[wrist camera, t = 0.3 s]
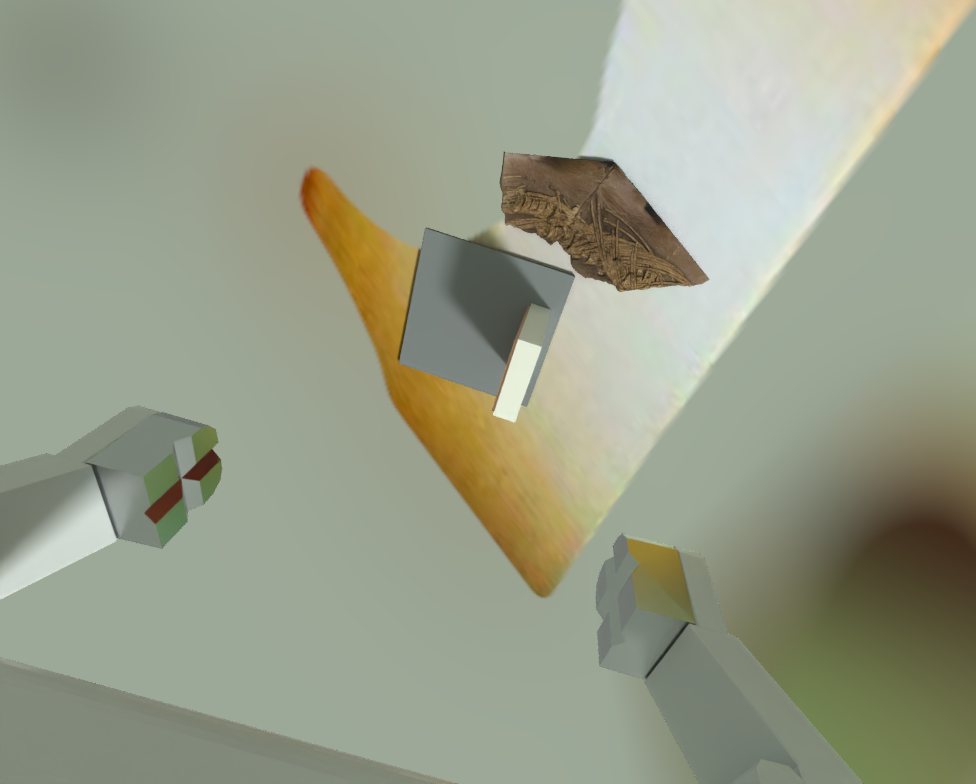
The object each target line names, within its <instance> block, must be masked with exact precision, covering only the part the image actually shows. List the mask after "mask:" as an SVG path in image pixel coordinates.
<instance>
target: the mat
mask: <svg viewBox="0 0 976 784" xmlns="http://www.w3.org/2000/svg"><path fill="white" fill-rule="evenodd" d="M574 278H575V276H574V275H571V274H568V273H565V272H562V271H559V270H555V269H552V268H549V267H546V266H543V265H540V264H537V263H534V262H531V261H528V260H525V259H522V258H519V257H516V256H512V255H509V254H506V253H503V252H500V251H497V250H494V249H491V248H488V247H485V246H482V245H479V244H476V243H473V242H470V241H466V240H463V239H460V238H457V237H454V236H451V235H448V234H445V233H442V232H439V231H435V230H433V229H429V228H426V229H425V232H424V238H423V242H422V248H421V253H420V258H419V263H418V268H417V273H416V278H415V283H414V289H413V294H412V299H411V304H410V309H409V314H408V319H407V324H406V330H405V335H404V340H403V345H402V350H401V355H400V360H399V364H402V365H405V366H408V367H411V368H414V369H417V370H420V371H423V372H426V373H429V374H432V375H435V376H437V377H440V378H443V379H446V380H449V381H452V382H455V383H458V384H461V385H464V386H467V387H470V388H473V389H476V390H479V391H482V392H485V393H488V394H491V395H494V396H497V393H498V389H499V386H500V383H501V380H502V377H503V374H504V371H505V368H506V365H507V362H508V359H509V356H510V353H511V350H512V347H513V344H514V340H515V338H516V335H517V333H518V330H519V328H520V325H521V323H522V320H523V317H524V315H525V312H526V310H527V307H528V306H531V304H535V305H538V306H541V307H544V308H547V309H550V310H551V311H550V316H549V320H548V324H547V328H546V332H545V337H544V341H543V345H542V348H541V351H540V354H539V357H538V359H537V362H536V365H535V368H534V371H533V373H532V376H531V379H530V382H529V384H528V387H527V390H526V393H525V395H524V398H523V401H522V404H521V405H523V406H526V407H527V405H528V402H529V399H530V397H531V394H532V391H533V389H534V386H535V383H536V380H537V378H538V375H539V372H540V370H541V367H542V364H543V362H544V359H545V356H546V353H547V351H548V348H549V345H550V343H551V340H552V337H553V334H554V332H555V329H556V326H557V324H558V321H559V318H560V316H561V313H562V310H563V307H564V305H565V302H566V299H567V297H568V294H569V291H570V289H571V286H572V283H573V280H574Z"/></svg>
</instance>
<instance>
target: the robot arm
mask: <svg viewBox="0 0 976 784" xmlns="http://www.w3.org/2000/svg"><path fill="white" fill-rule="evenodd" d="M217 443H218V438H217V433H216V429H215V428H213V427H211V426H208V425H205V424H202V423H198V422H195V421H191V420H188V419H184V418H181V417H177V416H174V415H170V414H167V413H164V412H158V411H155V410H151V409H148V408H145V407H141V406H134V407H128V408H126V409H125V410H123V411H122V412H120V413H119V414H118V415H116V416H114V417H113V418H111V419H110V420H108V421H107V422H105V423H104V424H102V425H100V426H99V427H97V428H96V429H95V430H93V431H91V432H90V433H88V434H87V435H85V436H84V437H82V438H81V439H79V440H78V441H76V442H75V443H73V444H72V445H70V446H69V447H67V448H66V449H64V450H62V451H61V452H60V453H58V454H56V455H51V454H47V453H46V454H43V455H39V456H35V457H31V458H28V459H24V460H20V461H16V462H13V463H9V464H5V465H1V466H0V599H2V598H4V597H6V596H8V595H10V594H12V593H14V592H16V591H18V590H20V589H22V588H24V587H26V586H28V585H30V584H32V583H34V582H36V581H38V580H40V579H42V578H44V577H46V576H48V575H50V574H52V573H54V572H56V571H58V570H60V569H62V568H64V567H66V566H68V565H70V564H72V563H74V562H76V561H78V560H80V559H82V558H84V557H86V556H87V555H89V554H92V553H93V552H95V551H97V550H99V549H101V548H103V547H105V546H107V545H109V544H111V543H113V542H115V541H116V540H117V538H119V539H124V540H128V541H132V542H136V543H140V544H144V545H148V546H153V547H157V548H161V549H162V548H163V547H164V546H165V545H166V544H167V543H168V542H169V541H170V540H171V539H172V538H173V536H175V534H176V533H177V532H178V531H179V530H180V529H181V528H182V527H183V526H184V525H185V524H186V523H187V520H188V511H189V510H192V509H194V508H197V507H199V506H202V505H204V504H205V502H206V501H207V500H208V499H209V498H210V496H212V495H213V493H214V491H215V489H216V487H217V485H218V483H219V482H220V479H221V472H222V465H221V459H220V458H219V457H218V455H217V454H216V453H215V452H214V450H213V448H214V447H215V446H216V444H217ZM613 552H614V557H612V558H610V559H608V560H606V561H605V562H604V564H603V566H602V569H601V571H600V574H599V578H598V582H597V586H596V610H597V611H598V613H599V614H600V616H601V617H602V619H603V622H602V624H601V626H600V627H599V629H598V631H597V634H598V651H599V666H600V667H603V668H607V669H610V670H613V671H617V672H620V673H624V674H627V675H630V676H634V677H637V678H641V679H644V680H646V681H645V685H646V686H647V688H648V690H649V692H650V694H651V696H652V697H653V699H654V701H655V703H656V705H657V707H658V708H659V710H660V712H661V714H662V716H663V718H664V720H665V722H666V723H667V725H668V727H669V729H670V731H671V733H672V734H673V736H674V738H675V740H676V742H677V744H678V745H679V747H680V749H681V751H682V753H683V755H684V757H685V758H686V760H687V762H688V764H689V766H690V768H691V769H692V771H693V773H694V775H695V777H696V779H697V781H698V782H699V784H863V783H862V781H861V780H860V779H859V778H858V777H857V776H856V774H855V773H854V772H853V771H852V770H851V769H850V767H848V765H847V764H846V763H845V762H844V760H843V759H842V758H841V757H840V756H839V755H838V754H837V752H836V751H835V750H834V749H833V748H832V747H831V745H830V744H829V743H828V742H827V741H826V740H825V739H824V737H823V736H822V735H821V734H820V733H819V731H817V729H816V728H815V727H814V726H813V725H812V723H811V722H810V721H809V720H808V719H807V718H806V716H805V715H804V714H803V713H802V712H801V711H800V709H798V707H797V706H796V705H795V704H794V703H793V701H792V700H791V699H790V698H789V697H788V696H787V694H786V693H785V692H784V691H783V690H782V689H781V687H780V686H779V685H778V684H777V683H776V682H775V680H774V679H773V678H772V677H771V676H770V675H769V673H767V671H766V670H765V669H764V668H763V667H762V665H761V664H760V663H759V662H758V661H757V660H756V658H755V657H754V656H753V655H752V654H751V653H750V651H749V650H748V649H747V648H746V647H745V646H744V644H743V643H742V642H741V641H740V640H739V639H738V638H737V637H736V636H732V635H730V634H728V631H727V628H726V625H725V622H724V619H723V616H722V613H721V609H720V606H719V603H718V599H717V596H716V593H715V590H714V587H713V584H712V580H711V577H710V574H709V571H708V567H707V565H706V561H705V558H704V557H703V556H702V554H701V553H699V552H695V551H691V550H687V549H683V548H678V547H672V546H670V545H666V544H663V543H659V542H655V541H651V540H647V539H643V538H638V537H635V536H631V535H627V534H623V533H622V534H621V535H620V536H619V537H618V538H617V540H616V541H615V543H614V545H613ZM0 784H457V783H453V782H449V781H446V780H442V779H438V778H435V777H431V776H428V775H424V774H420V773H417V772H413V771H410V770H406V769H402V768H399V767H395V766H392V765H388V764H384V763H381V762H377V761H373V760H370V759H366V758H363V757H359V756H356V755H352V754H348V753H345V752H341V751H338V750H334V749H330V748H327V747H323V746H319V745H316V744H312V743H308V742H305V741H301V740H298V739H294V738H290V737H287V736H283V735H280V734H276V733H273V732H269V731H265V730H261V729H258V728H255V727H251V726H247V725H244V724H240V723H237V722H233V721H229V720H226V719H222V718H218V717H215V716H211V715H207V714H204V713H200V712H197V711H193V710H189V709H186V708H182V707H179V706H175V705H171V704H168V703H164V702H161V701H157V700H153V699H150V698H146V697H142V696H139V695H135V694H132V693H128V692H125V691H121V690H117V689H114V688H110V687H106V686H103V685H99V684H96V683H92V682H88V681H85V680H81V679H77V678H73V677H70V676H66V675H63V674H59V673H55V672H52V671H49V670H45V669H41V668H38V667H34V666H30V665H27V664H23V663H20V662H16V661H12V660H9V659H5V658H1V657H0Z"/></svg>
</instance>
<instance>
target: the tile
mask: <svg viewBox="0 0 976 784" xmlns="http://www.w3.org/2000/svg"><path fill="white" fill-rule="evenodd" d="M550 311H551V310H550V309H547V308H544V307H541V306H538V305H535V304H531V306H528V307H527V310H526V312H525V315H524V317H523V320H522V323H521V325H520V328H519V330H518V333H517V335H516V338H515V340H514V344H513V347H512V350H511V353H510V356H509V359H508V362H507V365H506V368H505V371H504V374H503V377H502V380H501V383H500V386H499V389H498V393H497V396H496V399H495V402H494V405H493V408H492V411H494V414H493V415H494V416H497V417H500V418H503V419H506V420H509V421H512V422H515V420H516V417H517V415H518V412H519V409H520V406H521V404H522V401H523V398H524V395H525V393H526V390H527V387H528V384H529V382H530V379H531V376H532V373H533V371H534V368H535V365H536V362H537V359H538V357H539V354H540V351H541V348H542V345H543V341H544V337H545V332H546V328H547V324H548V320H549V316H550Z"/></svg>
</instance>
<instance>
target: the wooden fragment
mask: <svg viewBox="0 0 976 784" xmlns="http://www.w3.org/2000/svg"><path fill="white" fill-rule="evenodd" d="M615 165H616V164H615V163H614V162H609V161H607V162H606V161H604V162H602V161H593V160H583V159H569V158H559V157H550V156H537V155H529V154H513V153H505V152H504V155H503V165H502V172H501V177H500V187H501V190H502V192H503V197H502V204H501V208H502V211H503V213H505V220H506V225H509V224H510V225H512V226H513V227H514V228H515V227H517V228H520V229H522V230H523V231H525V232H528V233H537V235H539V236H540V237H541V238H543V239H545V240H546V241H547V242H548V243H549V244H550V245H552V244H553V243H554V242H556V241H558V242H559V244H560V245H561V246H562V247H563V249H564V251H565V252H567V253H568V254H569V255H571V258H572V267H573V268H574V269H575V270H576V271H577V272H578V273H579V274H581V275H582V276H583V277H585V278H593V279H595V280H601V281H603V282H604V281H606V282H607V283H609V284H613V285H614V286H616V288H617V290H618V291H619V292H622V291H630V290H635V289H639V290H644V289H649V288H650V287H667V286H675V285H681V286H689V287H690V286H694V285H699V284H703V283H704V282H706V281H708V280H709V279H708V277H707V276H706V275H705V274H704V272H703V271H702V270H701V269H700V267H699V266H698V265H697V264H696V262H695V261H694V260H693V258H692V257H691V256H690V255H689V253H688V252H687V251H686V250H685V248H684V247H683V246H682V245H681V244H680V242H679V241H678V240H677V239H676V237H675V236H674V235H673V234H672V233H671V231H670V230H669V229H668V227H667V226H666V225H665V224H664V222H663V221H662V220H661V219H660V217H659V216H658V215H657V214H656V213H655V211H654V210H653V209H652V207H651V206H650V205H649V204H648V202H647V201H646V200H645V199H644V197H643V196H642V195H641V194H640V193H639V191H638V190H637V189H636V187H635V186H633V185H632V184H631V182H629V180H627V179H628V178H627V177H626V175H625V174H624V173H623V172H622V171H621V169H620V168H619V167H618V166H617V165H616V167H615V168H614V169H613V170H612V171H611V169H612V168H613V167H614V166H615Z"/></svg>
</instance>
